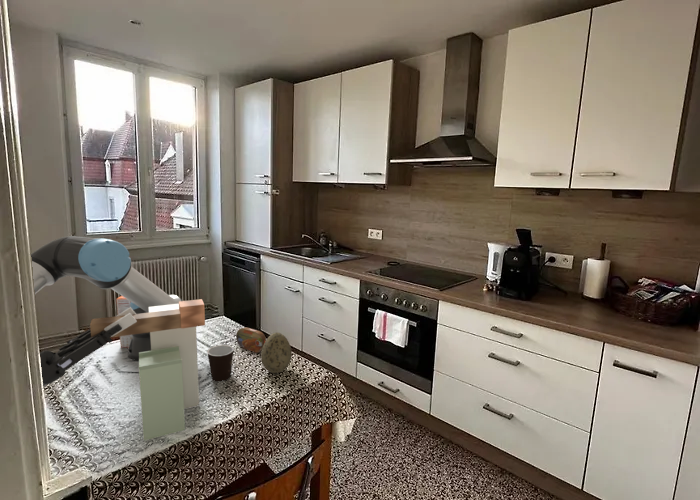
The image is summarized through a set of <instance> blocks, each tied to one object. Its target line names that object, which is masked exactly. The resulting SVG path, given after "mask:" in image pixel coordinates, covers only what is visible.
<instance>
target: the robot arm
mask: <svg viewBox="0 0 700 500" xmlns="http://www.w3.org/2000/svg"><path fill="white" fill-rule="evenodd" d="M30 254H31V257H32V267H33V279H34V290H35V295H36V294H38V292H40V291H41V290H42V289H43V288H44V287H46V286H52V285H54V284H55V283H56V282H57V281H59V280H60V279H62V278H65V277H74V278H80V279H84V280H86V281H88V282H89V283H91V284H93V285H94V286H96V287H98V288H99V289H101V290H109V289H110V290H112V291H114V292H116V293H117V294H118V295H120V296H123V297H124V298H126V299H128V300H129V301H131V303H130V308H128V309H126V310H125V311H123V312H121V313H120V314H118V313H117V315H116V316H123V315H125V316H124V317H122V318H121V319H119V320H117V321H116V322H114V323H112V324H111V325H109V326H107V327H106V328H104V330H105V331H101V332H100V333H98V334H96V335H94V336H92V337H91V329H90V328H89V329H87V330H86V331H84V332H82V333H80V334H79V335H77V336H75V337H74V338H71V339H69V340H67V341H66V344H64V345H62V346H60V347H59V348H58V351H57V352H52V351H51V350H47V349H46V350H43V351H41V352H39V353H40V356H41V367H42V377H43V386H44V388H46V387H47V385H50V384H52V383H54V382H55V381H57V380H59V379H60V378H62V377H64V375H65V374H66V371H67V370H69V369H70V368H71V367H73V366H74V365H76V364H77V363H79V362H80V361H82V360H84V359H85V358H86V357H88V356H90V355H92V354H93V353H95V352H96V351H97V350H99V349H100V348H102V347H104V346H106V345H107V344H108V343H109V344H111V343H112V342H113V339H112V338H114V337H113V336H115V335H116V334H118V333H119V332H121V331H123V330H124V329H126V328H128V327H129V326H131V325H132V324H134V323H136V322H137V321H136V319H135V318H134V317H133V316H132V314H141V313H149V307H153V306H162V305H171V304H179V302H180V301H184V300H183V299H182V298H180V297H179V296H178V295H176V294H169V293H166V292H165V291H164V290H163V289H161V288H160V287H159V286H158V285H156V284H155V283H153V282H152V281H151V280H150V279H148V277H146V276H145V275H143V274H142V273H140V272H139V271H138V270H137V269H136V268H134V267H133V263H132V260H131V257H130V252H129V250H128V248H127V247H126V246H125V245H124V244H123V243H121V242H119V241H117V240H113V239H111V238H103V237H100V238H97V237H96V238H94V237H88V236H87V237H85V236H78V235H66V236H61V237H59V238H56V239H53V240H51V241H50V242H47V243H46V244H43V245H42V246H40V247H39V248H37V249H36V250H34V251H33V252H31V253H30ZM110 337H111V338H110ZM145 351H151V339H150V332H148V333H141V334H133V335H132V339H131V342H130V346H129V348H128V350H127V357H128V359H130V360H132V361H135V362H139V352H145Z"/></svg>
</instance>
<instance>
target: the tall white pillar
mask: <svg viewBox="0 0 700 500" xmlns="http://www.w3.org/2000/svg"><path fill="white" fill-rule="evenodd" d="M176 309H179V304H171V305H162V306H153V307H149V312H158V311H167V310H176ZM150 339H151V350H158V349H164V348H170V347H176V346H179V352H180V357H181V359H182V379H183V400H184V410H186V409H190V408H195V407H198V406H199V407H200V395H199V394H200V391H199V390H200V389H199V388H200V387H199V365H198V342H197V341H198V340H197V339H198V338H197V327H189V328H182V329H181V328H177V329H170V330H163V331H155V332H150Z"/></svg>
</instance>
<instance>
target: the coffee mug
mask: <svg viewBox="0 0 700 500" xmlns="http://www.w3.org/2000/svg"><path fill="white" fill-rule="evenodd" d="M234 350H235V349H234V346H231V345H228V344H219V345H215V346H212V347H210V348H209V349H208V350H207V351H206V353H207V358H208V365H209V369H210V370H209V371H210V376H211V380H212V381H214V382H218V383H220V382H224V381H227V380H229V379H231V377H232V370H233V369H232V367H233V359H234Z"/></svg>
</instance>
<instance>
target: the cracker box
mask: <svg viewBox="0 0 700 500" xmlns="http://www.w3.org/2000/svg"><path fill="white" fill-rule="evenodd" d="M115 300H116V301H115V302H116V312H117V313H116V314H117V315H118V314H120V313H121V312H123V311H125V310H126V309H128V308H130V303H131V301H129V300H128V299H126V298H124V297H123V296H121V295H120V296H119V297H117V298H116V299H115ZM131 339H132V335H126V336H119V342H120V348H123V349H125V348H128V349H129V346H130V342H131Z"/></svg>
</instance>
